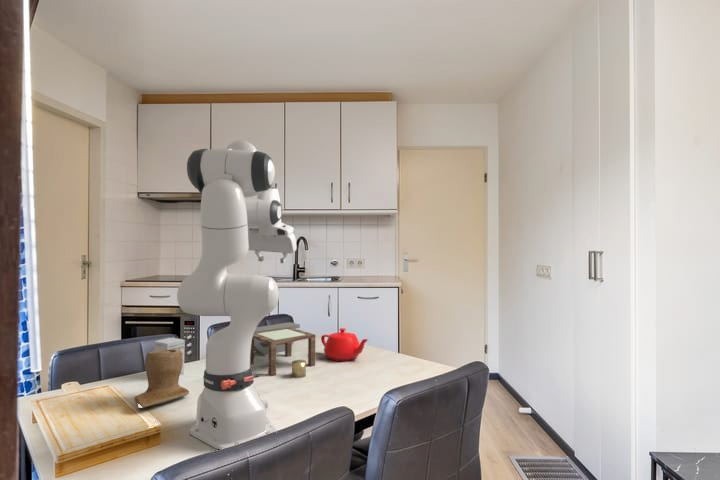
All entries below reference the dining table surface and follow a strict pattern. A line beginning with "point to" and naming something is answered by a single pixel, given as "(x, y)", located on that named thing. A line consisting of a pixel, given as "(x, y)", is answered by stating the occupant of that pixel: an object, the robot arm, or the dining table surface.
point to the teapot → (342, 346)
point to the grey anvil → (264, 348)
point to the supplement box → (171, 346)
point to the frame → (287, 347)
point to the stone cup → (162, 378)
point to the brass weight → (298, 368)
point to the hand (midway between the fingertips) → (271, 261)
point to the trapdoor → (280, 334)
